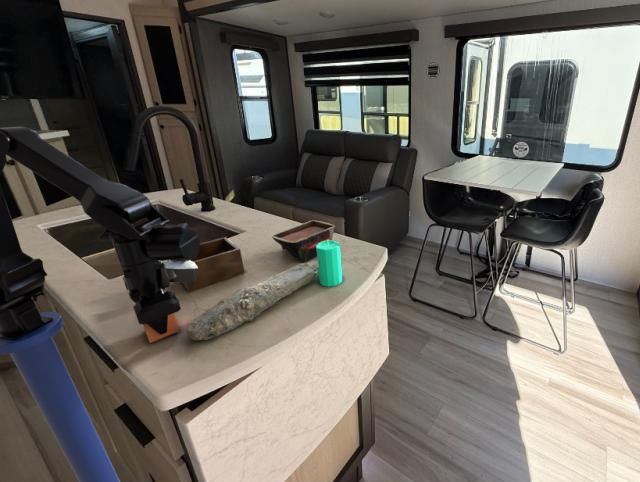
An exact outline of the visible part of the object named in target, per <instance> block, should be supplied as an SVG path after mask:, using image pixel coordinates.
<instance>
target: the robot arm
mask: <svg viewBox="0 0 640 482" xmlns="http://www.w3.org/2000/svg"><path fill="white" fill-rule="evenodd" d="M7 156H8V158H9V157H10V158H11V159H13V160H14V161H16V162H17V163H19V164H20V165H22V166H24V167H25V168H27V169H28V170H30V171H32V172H33V173H35V174H36V175H38V176H39V177H41V178H43V179H44V180H46V181H47V182H49V183H51V184H52V185H53V186H56V187H57V188H58V189H60V190H62V191H64V192H65V193H67V194H68V195H70V196H71V197H73V198H74V199H75V200H77V201H78V202H79V203H80V205H81V208H82V209H83V212H84V213H85V214H86V215H87V217H89V218H90V219H92V220H93V221H94V222H95V223H96V224H98V225H99V226H100V227H102V228H103V229H104V230H103V232H102V233H100V235H99V236H98V237H97V240H99V241H112V245H113V248H114V251H115V254H116V257H117V260H118V262H119V266H120V269H121V272H122V274H123V277H122V281H123V285H124V286H125V289H126V291H128V295H129V298H130V300H131V301H132V302H133V303H134V306H133V307H132V308H133V311H134V313H135V316H136V319H137V323H138V324H139V325H143V324H147V325H149V326H150V327H151V328H153V329H154V330H155V331H157V332H158V333H159V334H160V335H162V334H164V333H167V325H168V315H170V314H173V313H174V314H176V313H178V312H179V311H181V310H182V307H181V304H180V301H179V299H178V297H177V295H176V294H175V293H174V292H171V291H168V290H167V291H165V290H166V289H168V288H171V287H172V285H171V283H172V284H179V283H182V282H188V283H194V282H195V281H196V276H197V271H198V266H197V265H196V264H195V263H194V262H192V261H190V260H192V259H194V258H195V257H196V256H197V254H198V252H199V249H200V244H201V238H200V236H199V235H198V234H197V232H196V231H195V230H194V229H190V226H189V224H188V223H187V222H184V223H176V224H169V223H170V221H171V220H170V219H169V218H168V217H167V216H166V215H165V214H164V213H162V212H161V210H159V209H158V208H157V207H156V206H155V205H154V204H153V203H151V200H150V199H149V198H148V197H147V196H146V195H145V194H144V193H142V192H140V191H138V190H136V189H134V188H132V187H130V186H128V185H126V184H122V183H119V182H114V181H110V180H107V179H105V178H103V177H101V176H100V175H98V174H96V173H95V172H94V171H92V170H91V169H89V168H88V167H86V166H84V165H83V164H81V163H80V162H79V161H76V160H75V159H74V158H72V157H71V156H69V155H67V154H66V153H65V152H64V151H62V150H60V149H58V148H57V147H56V146H54V145H52V144H51V143H50V142H47V140H45V139H43V138H42V137H41V136H40V134H39V133H38V132H37V131H35V130H34V129H32V128H29V127H25V126H10V127H8V126H7V127H0V175H2V173H3V170H4V168H5V167H6V164H7V162H8V161H7V160H8V159H7ZM144 220H146V221H145V222H143V223H140V222H142V221H144ZM138 223H140V224H138ZM136 224H138V225H136ZM134 225H136V226H134ZM186 260H188V261H186ZM46 277H48V273H47V271H46V270H45V268H44V262H43V260H42V258H39V257H37V258H33V257H32V256H30V255H29V254H27V253H25V252H24V251H23V249H22V247H21V244H20V241H19V237H18V234H17V231H16V228H15V225H14V221H13V218H12V216H11V213H10V210H9V207H8V203H7V200H6V197H5V194H4V191H3V188H2V185H1V184H0V339H6V340H18V339H20V338H22V337H23V336H25V335H27V334H29V333H31V332H33V331H34V330H36V329H38V328H40V327H42V326H44V325H45V324H47V323H49V322H51V321H53V320H54V319H53V318H52V317H44V316H41V314H40V313H41V312H40V310H39V308H38V307H37V304H36V301H35V299H34V298H33V297H34V296H36V295H37V294H39V293H43V292H44V291H45V281H46ZM182 284H183V283H182Z"/></svg>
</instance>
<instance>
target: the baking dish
mask: <svg viewBox="0 0 640 482" xmlns="http://www.w3.org/2000/svg"><path fill="white" fill-rule="evenodd" d="M335 230H336V225H334V224H332V223H329V222H325V221H321V220H315V219H314V220H309V221H307V222H304V223H301V224H299V225H296V226H293V227H291V228H288V229H285V230H283V231H280V232H277V233H274V234H272V235H271V238H272V239H273V240H274V242H276V243H278V245H280V246H281V249H282V251H286V252H287V253H289V254H290V255H291V256H292V257H293V258H294V259H295V260H297V261H298V262H300V263H306V262H310V260H311V261H312V260H313V259H315V258H317V249H316V246H317V245H318V244H319V243H320V242H323V241H327V239H328V240H332V241H333V236H334V232H335Z"/></svg>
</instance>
